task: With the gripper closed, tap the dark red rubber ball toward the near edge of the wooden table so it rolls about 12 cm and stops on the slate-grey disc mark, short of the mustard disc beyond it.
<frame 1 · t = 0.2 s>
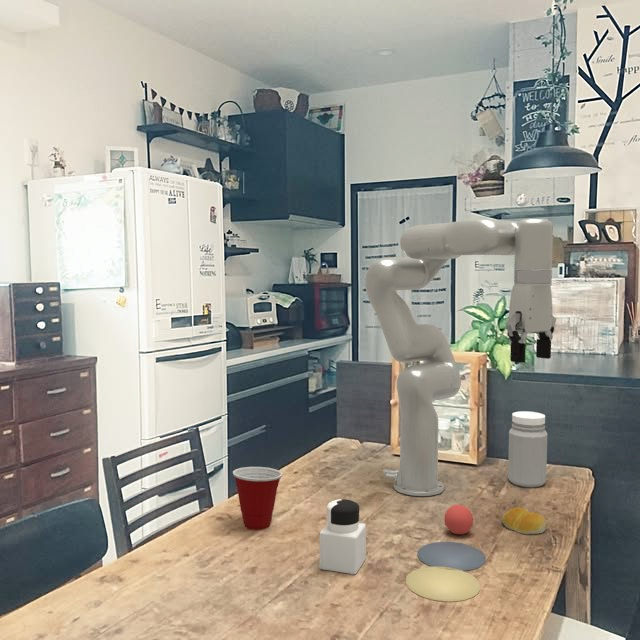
hand: (530, 359, 143), 36 cm above the table, tool pointing down, fingers open, 9 cm apart
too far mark: (442, 583, 120), on the table
jar: (526, 483, 176), on the table
ball: (458, 519, 142), on the table
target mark: (451, 556, 131), on the table
bread roll: (523, 528, 146), on the table
plastic cup: (258, 525, 147), on the table
medicine bottle: (342, 565, 128), on the table
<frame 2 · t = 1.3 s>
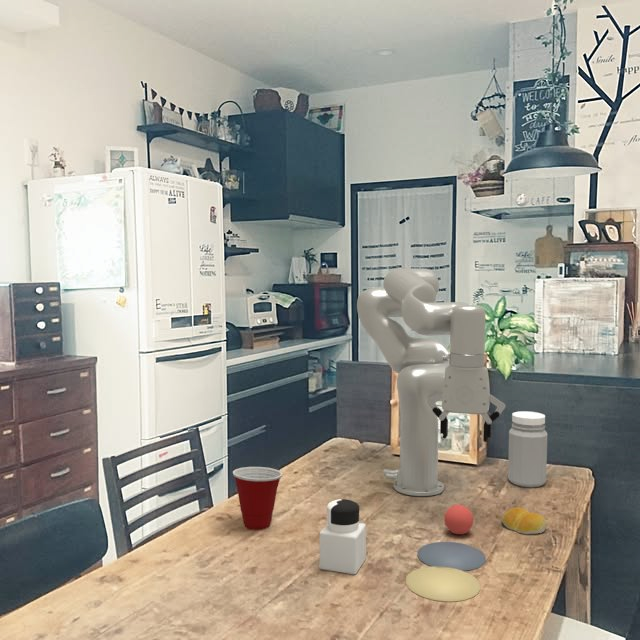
hand: (465, 438, 150), 18 cm above the table, tool pointing down, fingers open, 8 cm apart
nothing on the table moved.
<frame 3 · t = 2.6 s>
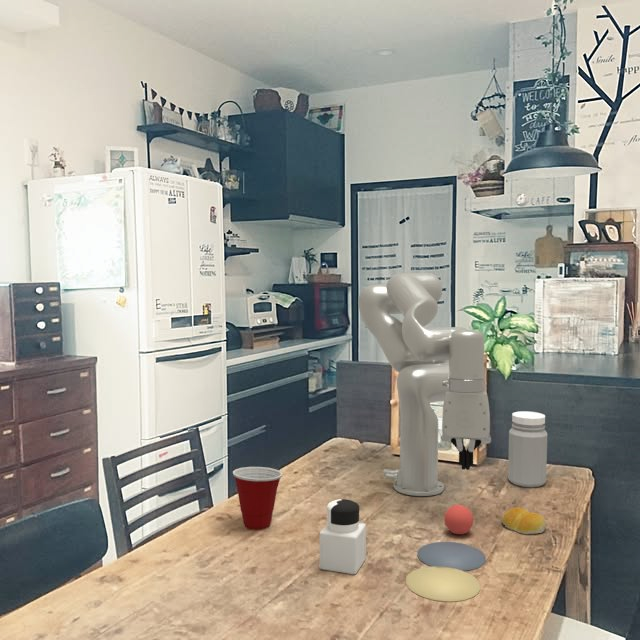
hand: (466, 467, 150), 12 cm above the table, tool pointing down, fingers closed
nothing on the table moved.
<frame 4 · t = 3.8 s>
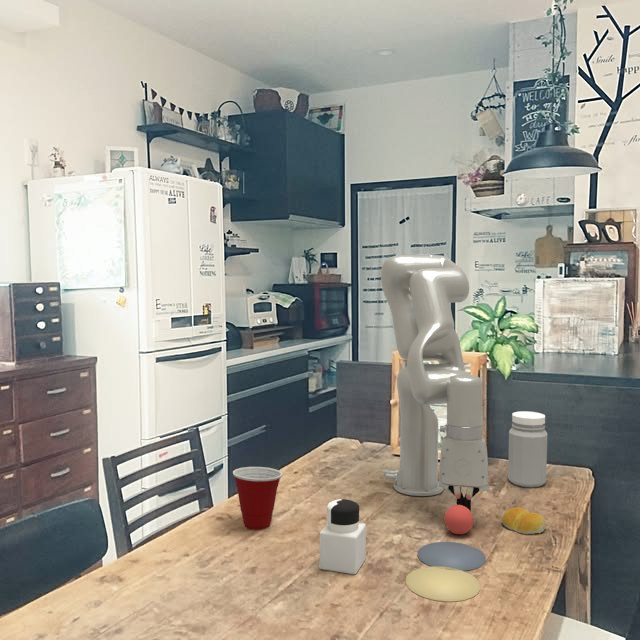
hand: (463, 515, 147), 2 cm above the table, tool pointing down, fingers closed
nothing on the table moved.
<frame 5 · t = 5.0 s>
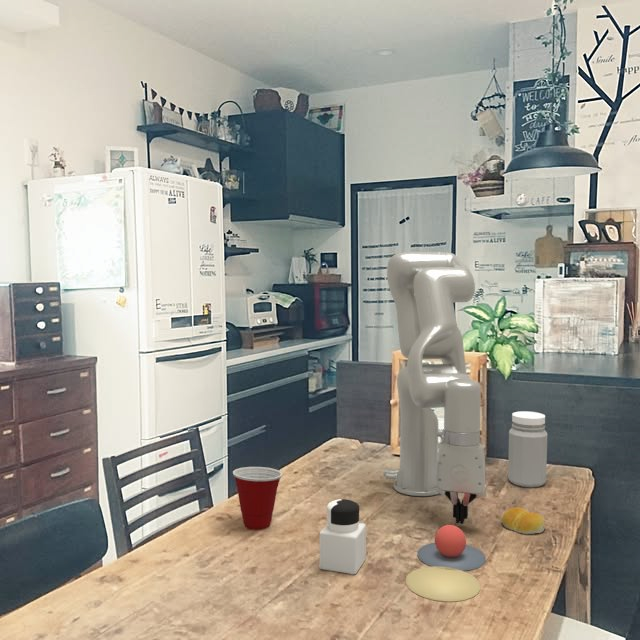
hand: (460, 521, 145), 2 cm above the table, tool pointing down, fingers closed
ball: (450, 541, 131), on the table
everything else where it was.
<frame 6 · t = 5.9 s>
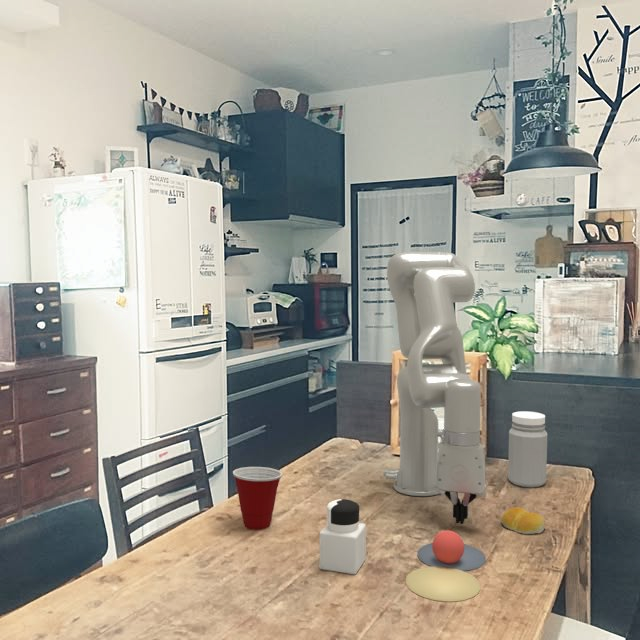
hand: (460, 521, 145), 2 cm above the table, tool pointing down, fingers closed
ball: (448, 546, 128), on the table
everything else where it was.
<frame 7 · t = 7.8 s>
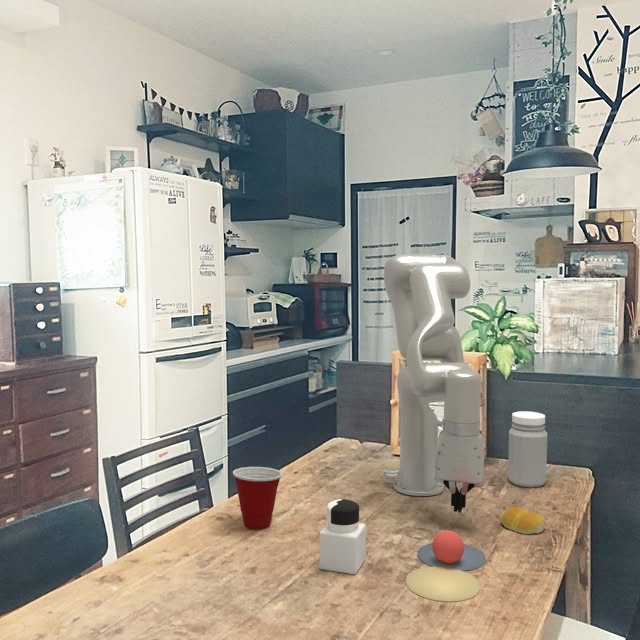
hand: (458, 509, 146), 4 cm above the table, tool pointing down, fingers closed
nothing on the table moved.
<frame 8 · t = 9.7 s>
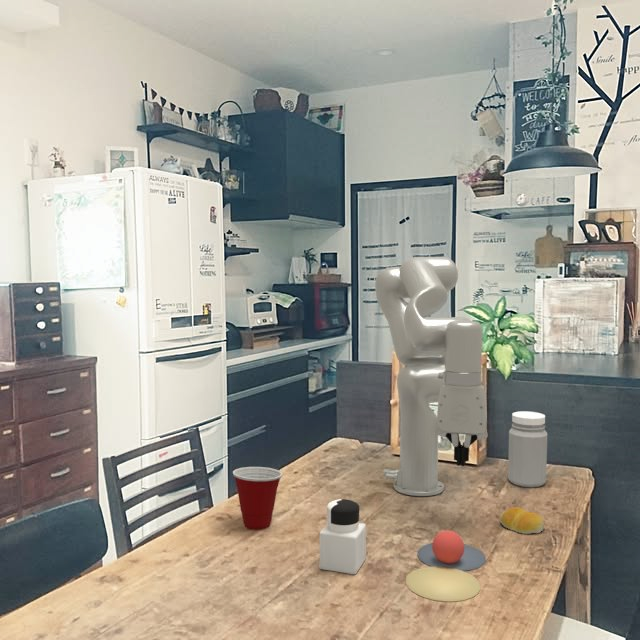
hand: (461, 463, 144), 14 cm above the table, tool pointing down, fingers closed
nothing on the table moved.
at the end: ball 2.9 cm from the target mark (horizontally); ball at rest at the end (0.0 cm/s); ball moved 14.9 cm from its start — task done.
